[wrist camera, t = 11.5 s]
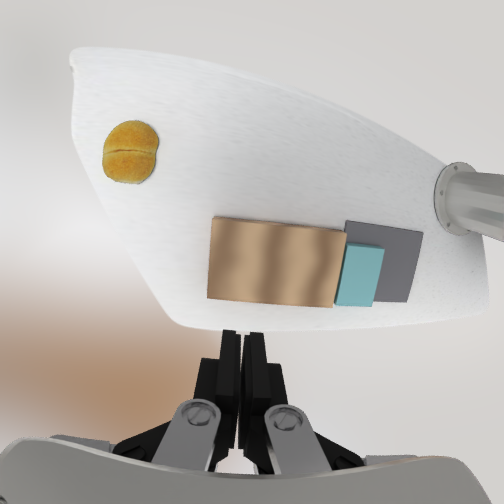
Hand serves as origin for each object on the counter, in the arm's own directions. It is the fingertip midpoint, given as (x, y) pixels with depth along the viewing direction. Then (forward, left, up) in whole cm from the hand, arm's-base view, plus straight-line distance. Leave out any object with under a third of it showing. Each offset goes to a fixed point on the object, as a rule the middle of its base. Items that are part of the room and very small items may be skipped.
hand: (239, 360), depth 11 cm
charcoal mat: (-22, +3, -29) cm, 36 cm away
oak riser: (-5, +4, -29) cm, 30 cm away
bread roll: (+17, -10, -30) cm, 35 cm away
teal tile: (-17, +5, -28) cm, 33 cm away
